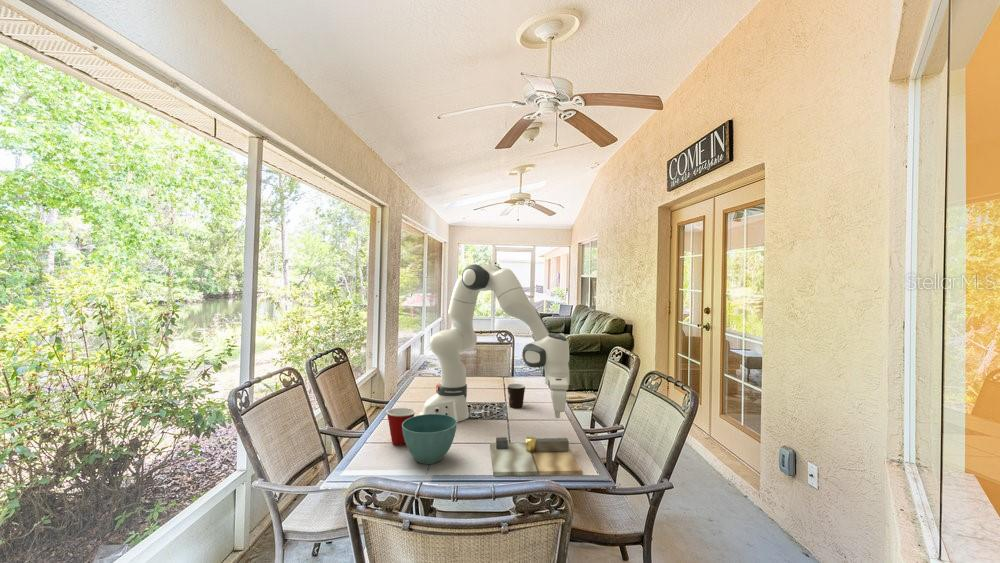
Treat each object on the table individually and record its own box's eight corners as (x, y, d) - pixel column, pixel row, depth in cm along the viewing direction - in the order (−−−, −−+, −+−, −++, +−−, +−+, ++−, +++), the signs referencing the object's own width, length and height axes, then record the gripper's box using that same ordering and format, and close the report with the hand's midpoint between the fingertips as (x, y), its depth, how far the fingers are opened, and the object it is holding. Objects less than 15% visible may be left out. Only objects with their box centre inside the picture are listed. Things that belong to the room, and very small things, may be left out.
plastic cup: (421, 440, 151) (421, 408, 151) (402, 450, 141) (403, 416, 141) (398, 434, 156) (399, 404, 156) (379, 444, 146) (379, 412, 146)
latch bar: (526, 452, 138) (526, 440, 138) (525, 448, 142) (525, 436, 142) (568, 451, 139) (569, 440, 139) (566, 447, 143) (566, 436, 143)
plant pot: (407, 475, 124) (407, 435, 124) (397, 452, 140) (398, 417, 140) (463, 465, 131) (463, 428, 131) (447, 444, 148) (448, 411, 148)
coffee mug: (523, 410, 188) (523, 388, 188) (505, 408, 190) (505, 387, 190) (526, 402, 200) (527, 382, 200) (509, 401, 201) (510, 381, 201)
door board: (493, 475, 124) (493, 471, 124) (490, 446, 146) (490, 443, 146) (582, 474, 126) (582, 470, 126) (565, 445, 148) (565, 442, 148)
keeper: (496, 449, 141) (496, 440, 141) (495, 445, 144) (496, 437, 144) (507, 449, 141) (507, 440, 141) (507, 445, 144) (507, 437, 144)
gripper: (547, 372, 158) (547, 407, 158) (550, 385, 137) (550, 426, 137) (563, 372, 157) (563, 408, 157) (568, 386, 137) (568, 426, 137)
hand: (557, 416), depth 147 cm, fingers closed
